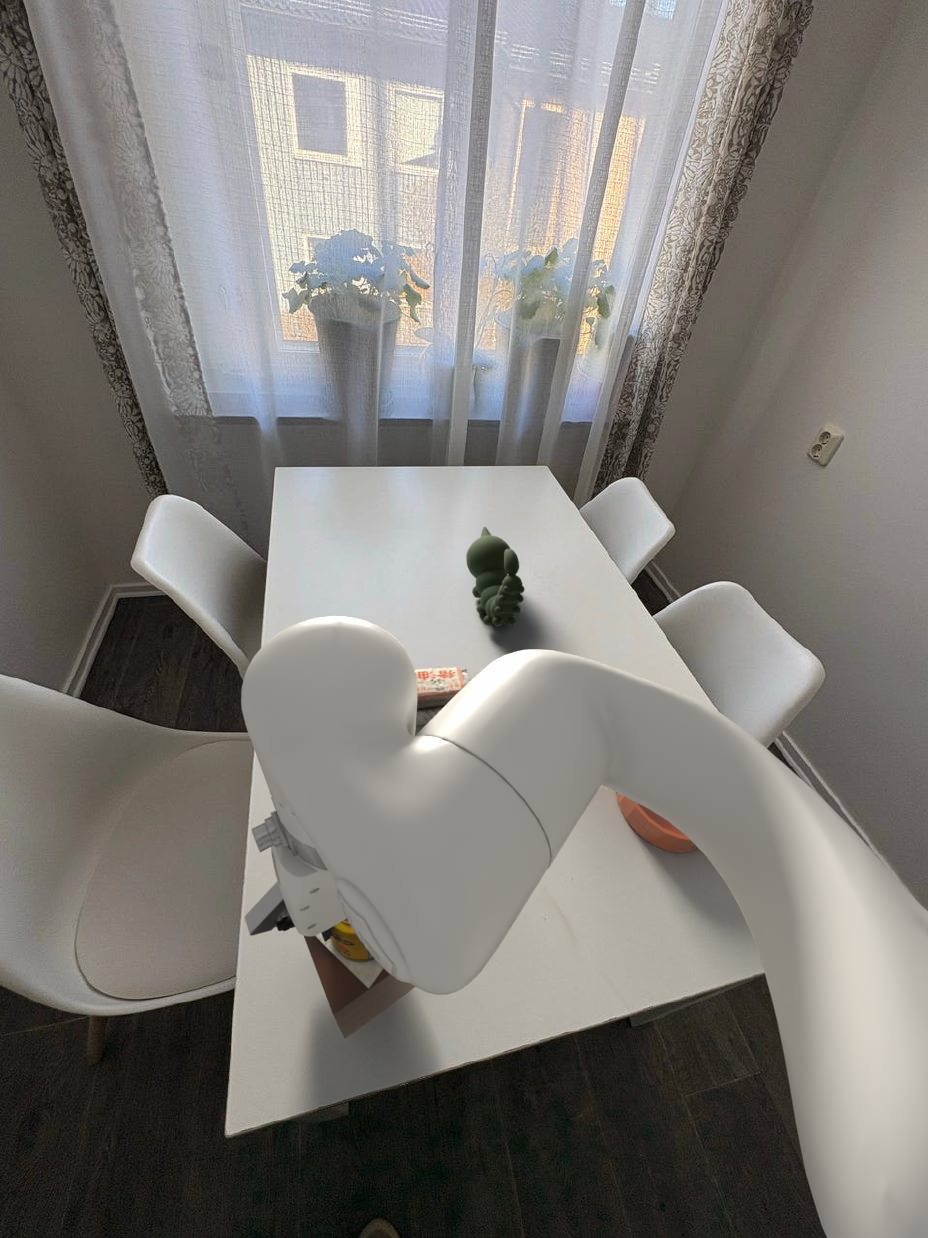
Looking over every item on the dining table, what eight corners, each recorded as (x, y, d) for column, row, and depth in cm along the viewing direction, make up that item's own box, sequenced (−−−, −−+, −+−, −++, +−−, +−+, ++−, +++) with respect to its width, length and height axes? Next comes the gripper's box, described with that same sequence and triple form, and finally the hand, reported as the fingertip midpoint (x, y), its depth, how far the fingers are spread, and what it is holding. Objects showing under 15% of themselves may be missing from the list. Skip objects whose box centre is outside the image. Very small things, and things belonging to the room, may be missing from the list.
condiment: (309, 931, 47) (292, 886, 38) (373, 855, 52) (371, 801, 43) (368, 989, 44) (364, 955, 36) (430, 903, 49) (438, 856, 41)
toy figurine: (522, 645, 99) (499, 555, 114) (546, 576, 84) (516, 484, 100) (475, 647, 97) (458, 556, 113) (490, 577, 83) (468, 484, 98)
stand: (427, 978, 58) (436, 942, 47) (344, 1039, 54) (333, 1015, 43) (387, 896, 64) (386, 846, 53) (309, 945, 59) (290, 902, 48)
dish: (732, 820, 76) (747, 807, 73) (668, 873, 70) (682, 860, 66) (659, 745, 84) (670, 730, 81) (596, 786, 77) (605, 772, 74)
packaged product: (364, 712, 77) (361, 662, 84) (365, 730, 80) (362, 680, 87) (480, 702, 80) (469, 654, 87) (477, 720, 84) (466, 672, 90)
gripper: (207, 953, 24) (270, 1014, 37) (502, 782, 32) (470, 882, 44) (172, 817, 28) (239, 914, 41) (440, 695, 36) (427, 809, 48)
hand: (359, 897), depth 42 cm, fingers closed on condiment, 6 cm apart
